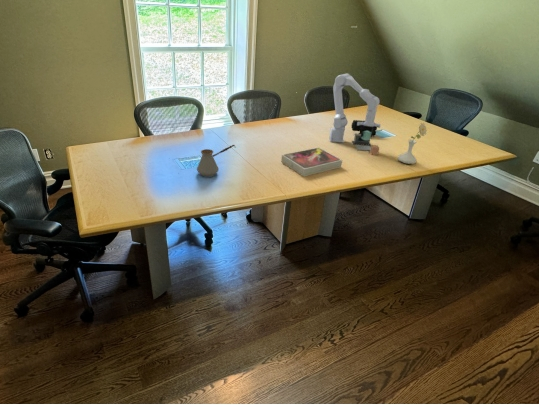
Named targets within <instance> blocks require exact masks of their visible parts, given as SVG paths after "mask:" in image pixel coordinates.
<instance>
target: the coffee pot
mask: <svg viewBox="0 0 539 405" xmlns="http://www.w3.org/2000/svg"><path fill="white" fill-rule="evenodd" d="M231 148H235V149H236V148H237V147H236V145H235V144H232V145H229V146H228V147H225V148H224V149H222V150H220V151H219V152H216V153H215V154H214V150H212V149H210V148H209V149H207V148H206V149H202V150H201V151H200V153H201V157H200V160H199V162H198V165H197V166H196V170H197V173H198V174H200V176H202V177H204V178H205V177H206V178H209V177H210V178H211V177H214V176H215V175H216V174H217V173H218V172H219V166H218V164H217V162H216V160H215V157H217V156H218V155H219V154H222V153H224V152H226V151H228V150H229V149H231Z"/></svg>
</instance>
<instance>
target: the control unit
mask: <svg viewBox="0 0 539 405" xmlns="http://www.w3.org/2000/svg"><path fill="white" fill-rule="evenodd" d="M370 142H371V139H370V140H363V139H362V137H361V134H359V133H355V134H354V138H353V140H351V143H352V145H354V146H355V145H365V146H370V147H371V146H372V144H371V143H370Z"/></svg>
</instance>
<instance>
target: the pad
mask: <svg viewBox="0 0 539 405" xmlns="http://www.w3.org/2000/svg"><path fill="white" fill-rule="evenodd" d="M354 146H355V148H356V150H357V151H362V152H363V151H365V152H370V150H371V146H368V145H354Z"/></svg>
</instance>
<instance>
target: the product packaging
mask: <svg viewBox="0 0 539 405" xmlns="http://www.w3.org/2000/svg"><path fill="white" fill-rule="evenodd" d="M280 162H281V163H282V164H284V165H285V166H287V167H289V168H290V169H291V170H293V172H296V173H297V174H299V175H301V176H302V178H303V177H307V176H310V175H315V174H319V173H324V172H327V171H331V170H334V169H335V170H336V169H339V168H342V163H343V160H342V159H341V158H339V157H337V156H336V155H334V154H332V153H330V152H329V151H326V150H325V149H323V148H321V147H318V146H317V147H313V148H309V149H304V150H299V151H294V152H289V153H283V154H281V160H280Z"/></svg>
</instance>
